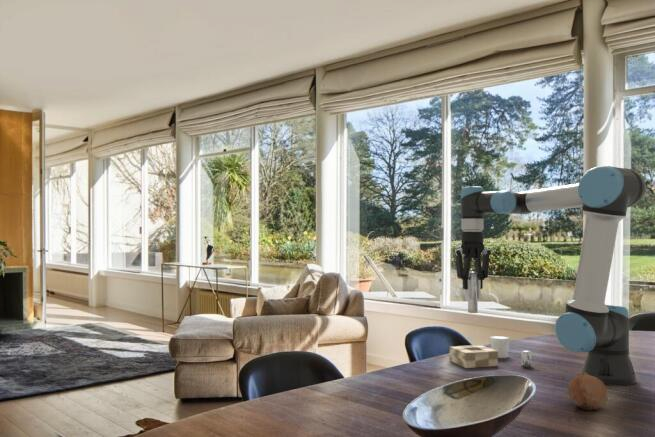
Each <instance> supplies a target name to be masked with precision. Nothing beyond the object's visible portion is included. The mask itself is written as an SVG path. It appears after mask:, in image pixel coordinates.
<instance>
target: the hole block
mask: <svg viewBox="0 0 655 437" xmlns="http://www.w3.org/2000/svg"><path fill="white" fill-rule="evenodd" d="M449 361H450V362H452V363H454V364H456V365H458V366H460V367H463V368H465V369H471V368H486V367H487V368H488V367H497V366H499V358H498V351H496V350H493V349H491V347H487V346H485V345H482V344H471V345H455V346H452V345H451V346H449Z"/></svg>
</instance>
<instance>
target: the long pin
mask: <svg viewBox="0 0 655 437" xmlns="http://www.w3.org/2000/svg"><path fill="white" fill-rule="evenodd" d="M468 280H470V284H471V299H467V313H468V314H470V313H471V314H478V311H479V310H478V306H479V305H478V299H477V280H478V279H477V272H476V271H469V278H468Z"/></svg>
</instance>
